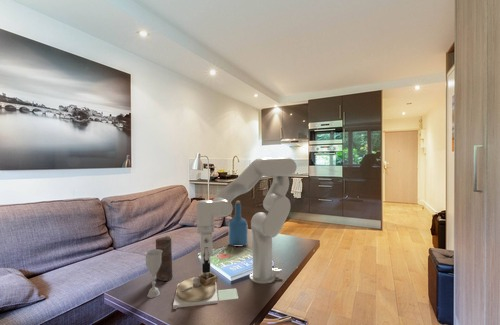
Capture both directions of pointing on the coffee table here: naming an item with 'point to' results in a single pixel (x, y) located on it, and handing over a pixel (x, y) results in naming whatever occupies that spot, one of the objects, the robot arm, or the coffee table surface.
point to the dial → (197, 288)
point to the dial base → (182, 303)
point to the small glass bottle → (205, 275)
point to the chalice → (153, 269)
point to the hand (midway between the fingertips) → (206, 269)
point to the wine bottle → (238, 228)
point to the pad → (227, 294)
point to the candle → (165, 258)
